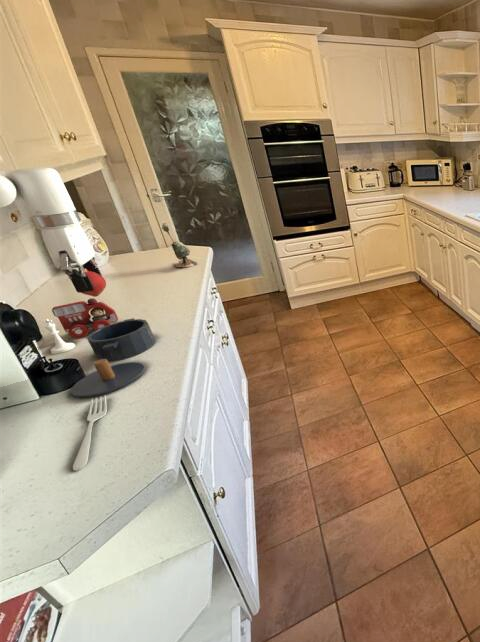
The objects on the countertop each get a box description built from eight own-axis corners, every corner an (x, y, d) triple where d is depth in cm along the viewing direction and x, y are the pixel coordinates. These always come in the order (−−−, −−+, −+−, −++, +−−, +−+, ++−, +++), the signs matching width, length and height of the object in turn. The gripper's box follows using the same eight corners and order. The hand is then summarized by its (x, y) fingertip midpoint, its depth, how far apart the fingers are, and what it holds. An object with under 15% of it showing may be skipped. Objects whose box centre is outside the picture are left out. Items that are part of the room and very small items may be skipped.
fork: (66, 475, 74) (61, 468, 73) (92, 405, 92) (89, 399, 91) (89, 466, 75) (85, 459, 75) (111, 400, 93) (107, 394, 93)
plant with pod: (177, 271, 173) (159, 227, 165) (174, 265, 181) (157, 222, 173) (199, 266, 178) (183, 223, 170) (195, 260, 186) (180, 219, 178)
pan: (86, 371, 104) (74, 351, 102) (110, 340, 119) (100, 322, 116) (146, 358, 110) (137, 338, 107) (162, 330, 124) (154, 312, 122)
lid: (62, 406, 92) (49, 384, 89) (85, 375, 103) (74, 355, 100) (137, 387, 98) (126, 367, 95) (151, 360, 109) (142, 341, 106)
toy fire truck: (120, 328, 126) (106, 299, 122) (65, 342, 119) (48, 311, 115) (121, 320, 131) (107, 292, 127) (68, 333, 124) (52, 303, 119)
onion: (77, 298, 104) (63, 270, 101) (105, 290, 109) (92, 263, 106) (86, 302, 102) (71, 273, 99) (115, 294, 106) (101, 266, 103)
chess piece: (56, 347, 116) (39, 317, 112) (78, 343, 118) (62, 313, 114) (47, 355, 112) (28, 325, 108) (70, 351, 114) (53, 320, 110)
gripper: (53, 215, 102) (85, 278, 110) (17, 230, 88) (56, 302, 96) (92, 211, 105) (120, 273, 113) (62, 225, 92) (97, 295, 99)
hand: (91, 286), depth 104 cm, fingers closed on onion, 6 cm apart
